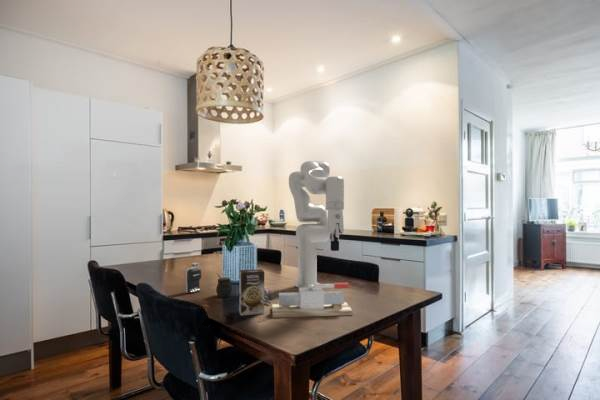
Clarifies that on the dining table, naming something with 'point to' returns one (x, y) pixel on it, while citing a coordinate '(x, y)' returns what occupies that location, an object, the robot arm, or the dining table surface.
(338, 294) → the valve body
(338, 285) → the lever
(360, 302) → the dining table surface
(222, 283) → the mate gourd
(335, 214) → the robot arm
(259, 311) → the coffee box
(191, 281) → the battery charger
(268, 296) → the walkie-talkie
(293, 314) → the valve board
